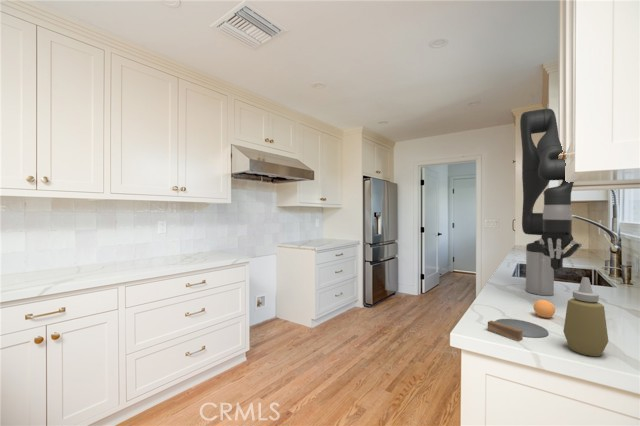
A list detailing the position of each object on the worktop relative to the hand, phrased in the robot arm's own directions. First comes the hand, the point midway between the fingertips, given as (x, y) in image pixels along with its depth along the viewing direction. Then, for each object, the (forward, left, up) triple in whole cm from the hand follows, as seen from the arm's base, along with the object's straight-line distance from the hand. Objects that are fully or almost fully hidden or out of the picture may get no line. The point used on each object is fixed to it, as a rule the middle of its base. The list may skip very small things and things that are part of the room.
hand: (556, 269), depth 97 cm
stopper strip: (+34, 0, -14) cm, 37 cm away
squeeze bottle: (+27, +15, -15) cm, 35 cm away
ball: (+9, 0, -12) cm, 15 cm away
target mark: (+25, 0, -14) cm, 29 cm away
